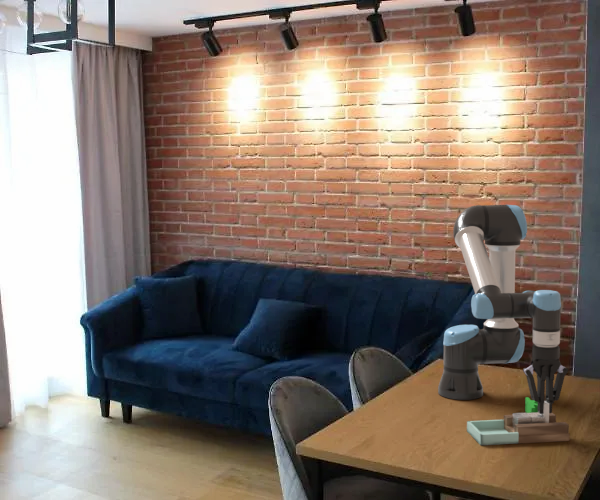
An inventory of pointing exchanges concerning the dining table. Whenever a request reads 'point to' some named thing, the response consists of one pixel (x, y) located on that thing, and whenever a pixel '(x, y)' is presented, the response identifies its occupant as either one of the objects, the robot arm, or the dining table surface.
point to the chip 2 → (537, 418)
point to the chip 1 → (521, 419)
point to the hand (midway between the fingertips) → (544, 424)
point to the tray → (491, 432)
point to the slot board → (539, 437)
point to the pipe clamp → (531, 405)
